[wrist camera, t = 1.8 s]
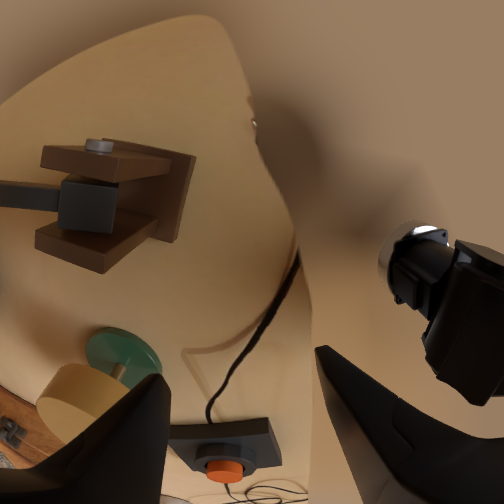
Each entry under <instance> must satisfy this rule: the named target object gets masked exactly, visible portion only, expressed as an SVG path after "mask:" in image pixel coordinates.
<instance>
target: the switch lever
mask: <svg viewBox="0 0 504 504" xmlns="http://www.w3.org/2000/svg"><path fill="white" fill-rule="evenodd" d="M118 193H119V182H117V183H111V182H107V181H102V180H98V179H94V178H89V177H85V176H80V175H76V174H69V175H68V176H67V177H66V178H65V179H64V180H63V181H62V182H61V186H59V185H50V184H39V183H29V182H17V181H4V180H0V207H11V208H21V209H31V210H41V211H51V212H58V221H57V228H60V229H69V230H79V231H88V232H97V233H107V234H112V232H113V224H114V217H115V211H116V204H117V198H118Z"/></svg>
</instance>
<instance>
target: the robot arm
mask: <svg viewBox="0 0 504 504" xmlns="http://www.w3.org/2000/svg"><path fill="white" fill-rule="evenodd" d="M443 233H444V234H443ZM442 234H443V236H442ZM399 244H400V247H399V248H397V247H398V245H399ZM454 246H455V249H453V248H451V247H449V246H448V233H447V230H445V229H439V230H435V231H431V232H428V233H424V234H420V235H416V236H412V237H408V238H405V239H401V240H397V241H395V243H394V245H393V252H394V265H393V290H394V301H395V302H396V303H397V304H398V305H399V304H403V303H405V302H406V303H407V304H408V305H409V306H410V307H411V308H412V309H413V310H418V311H419V312H420V313H421V314H422V315H423V316H424V317H425V318H426V319H427V320H428V321H430V322H429V324H428V326H427V329H426V331H425V332H424V333H423V335H422V338H421V339H422V342H423V344H424V347H425V351H426V356H425V359H426V361H427V363H428V364H429V365H430V367H431V368H432V370H433V372H434V373H435V374H436V375H437V376H436V378H437V379H438V380H440V381H442V382H445V383H447V384H448V385H450V386H451V387H453V388H454V389H456V390H457V391H458V392H459V393H460V394H461V395H462V396H463V397H464V398H465V399H466V400H467V401H468V402H469V403H470V404H472V405H476V406H484V405H485V404H486V403H487V401H488V400H489V399H490V397H504V255H503V254H501V253H499V252H497V251H495V250H492V249H490V248H488V247H485V246H481V245H477V244H473V243H469V242H465V241H461V240H456V241H455V245H454ZM399 298H400V300H398V299H399ZM315 358H316V366H317V371H318V375H319V379H320V383H321V387H322V391H323V395H324V399H325V404H326V407H327V411H328V414H329V417H330V419H331V422H332V424H333V427H334V429H335V431H336V434H337V437H338V439H339V442H340V444H341V447H342V449H343V452H344V455H345V457H346V460H347V462H348V465H349V467H350V470H351V472H352V475H353V478H354V480H355V483H356V485H357V488H358V490H359V493H360V496H361V498H362V501H363V504H504V437H503V438H493V439H484V438H477V437H474V436H471V435H468V434H466V433H464V432H462V431H459V430H457V429H455V428H453V427H451V426H448V425H446V424H444V423H442V422H440V421H438V420H436V419H434V418H432V417H430V416H428V415H427V414H425V413H423V412H421V411H419V410H418V409H416V408H415V407H413V406H412V405H410V404H409V403H407V402H405V401H404V400H403V399H401V398H398V396H397V395H396V394H394V393H393V392H391V391H390V390H388V389H387V388H386V387H384V386H383V385H381V384H380V383H379V382H377V381H376V380H374V379H373V378H372V377H370V376H369V375H368V374H366V373H365V372H363V371H362V370H361V369H359V368H358V367H356V366H355V365H354V364H352V363H351V362H350V361H348V360H347V359H346V358H344V357H343V356H341V355H340V354H339V353H337V352H336V351H335V350H333V349H332V348H331V347H329V346H328V345H324V346H320V347H316V348H315ZM170 411H171V390H170V388H169V386H168V385H167V383H166V381H165V380H164V378H163V376H162V375H161V374H160V373H152V374H148V375H147V376H146V377H145V378H144V379H143V380H141V381H140V382H139V383H138V384H137V385H136V386H135V387H134V388H132V389H131V390H130V391H129V392H128V393H127V394H126V395H124V396H123V397H122V398H121V399H120V400H119V401H118V402H116V403H115V404H114V405H113V406H112V407H111V408H109V409H108V410H107V411H106V412H105V413H104V414H102V415H101V416H100V417H99V418H98V419H97V420H95V421H94V422H93V423H92V424H91V425H90V426H88V427H87V428H86V429H85V430H84V431H82V432H81V433H80V434H79V435H78V436H77V437H75V438H74V439H73V440H72V441H70V442H69V443H68V444H66V445H65V446H64V447H62V448H61V449H59V450H58V451H57V452H55V453H54V454H52V455H51V456H49V457H48V458H46V459H45V460H43V461H42V462H40V463H39V464H37V465H35V466H33V467H31V468H27V469H12V468H0V504H160V496H161V487H162V480H163V472H164V465H165V458H166V451H167V444H168V438H169V431H170Z"/></svg>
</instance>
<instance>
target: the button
mask: <svg viewBox="0 0 504 504" xmlns="http://www.w3.org/2000/svg"><path fill="white" fill-rule="evenodd" d="M206 476H207V478H208V479H210V480H212V481H215V482H220V483H235V482H239V481H241V480H242V476H243V466H242V464H239V463H237V462H233V461H226V460H215V461H210V462H208V464H207V473H206Z"/></svg>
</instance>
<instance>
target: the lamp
mask: <svg viewBox="0 0 504 504" xmlns="http://www.w3.org/2000/svg"><path fill="white" fill-rule="evenodd" d="M86 357H87V360H88V362H89V365H90V366H91V367H89V366H86V365H81V364H67V365H64V366H62V367H61V368H60V369H59V370H58V371H57V373H56V374H55V376H54V377H53V378H52V380H51V381H50V382H49V384H48V385H47V387H46V388H45V389H44V391H43V392H42V394H41V395H40V396H39V398H38V399H37V401H36V408H37V411H38V414H39V416H40V417H41V419H42V420H43V422H44V423H45V424H46V426H47V427H48V428H49V429H50V430H51V431H52V432H53V433H54V434H55V435H56V436H57V437H58V438H59V439H60V440H61V441H63V442H64V443H65V444H68V443H69V442H70V441H72V440H73V439H74V438H75V437H77V436H78V435H79V434H80V433H81V432H82V431H84V430H85V429H86V428H87V427H88V426H90V425H91V424H92V423H93V422H94V421H95V420H97V419H98V418H99V417H100V416H101V415H102V414H104V413H105V412H106V411H107V410H108V409H109V408H111V407H112V406H113V405H114V404H115V403H116V402H118V401H119V400H120V399H121V398H122V397H123V396H124V395H126V394H127V393H128V392H129V391H130V390H131V389H132V388H134V387H135V386H136V385H137V384H138V383H139V382H140V381H141V380H143V379H144V378H145V377H146V376H147V375H148V374H152V373H160V374H161V375H162V366H161V362H160V360H159V358H158V357H157V355H156V353H155V352H154V351H153V350H152V349H151V347H150V346H149V345H147V344H146V343H145V342H144V341H143V340H141V339H140V338H138V337H137V336H135V335H133V334H132V333H129V332H127V331H124V330H121V329H117V328H104V329H100V330H98V331H97V332H95V333H94V334H93V335H92V336H91V338H90V339H89V341H88V342H87V345H86Z"/></svg>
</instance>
